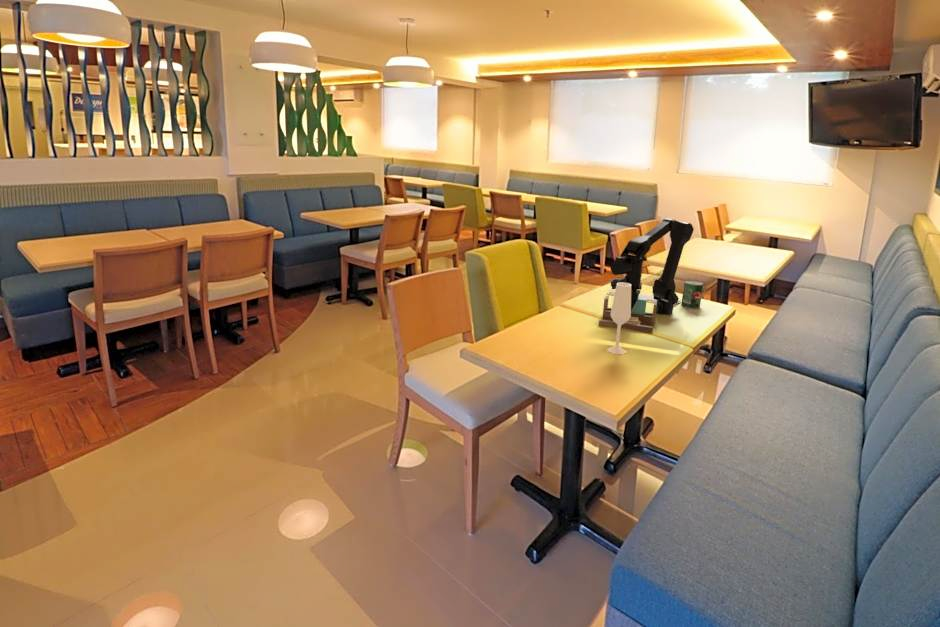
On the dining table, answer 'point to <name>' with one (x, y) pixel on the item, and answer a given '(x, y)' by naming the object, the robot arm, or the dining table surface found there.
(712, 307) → the dining table surface
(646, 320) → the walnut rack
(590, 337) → the dining table surface
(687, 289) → the canned tomato
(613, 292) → the baseboard molding
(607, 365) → the dining table surface
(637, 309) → the teal sheet
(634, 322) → the upper offcut
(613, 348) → the champagne flute
